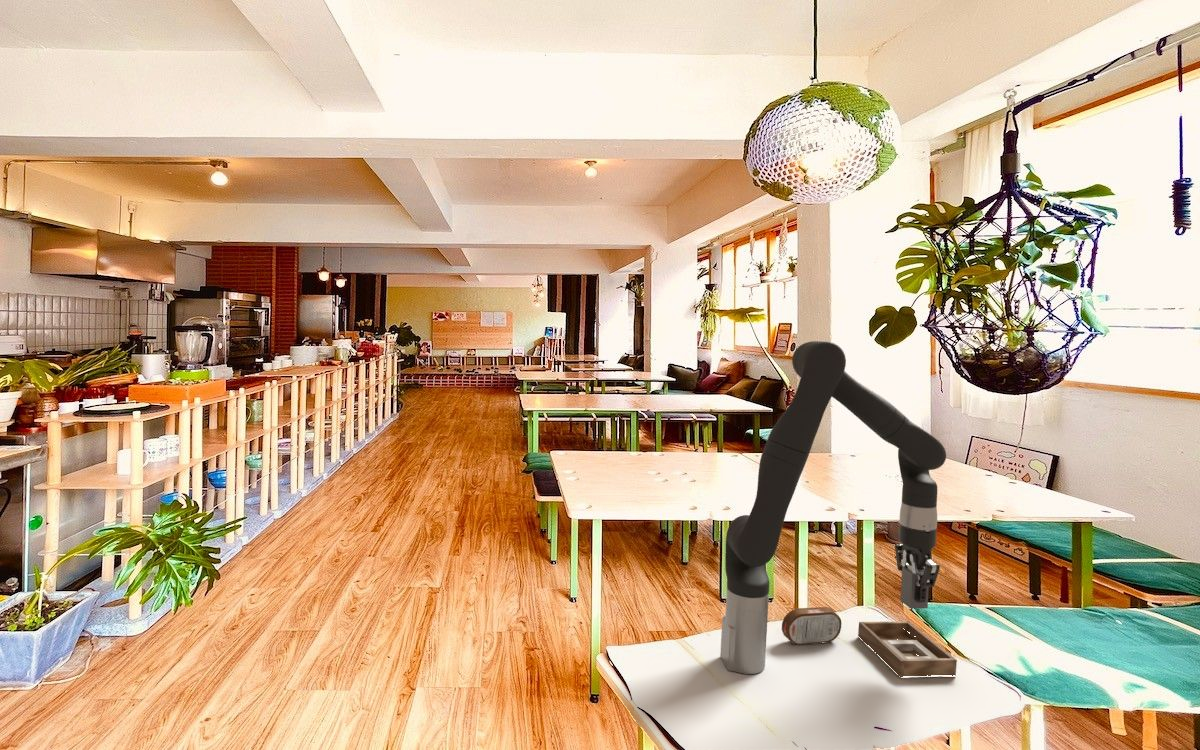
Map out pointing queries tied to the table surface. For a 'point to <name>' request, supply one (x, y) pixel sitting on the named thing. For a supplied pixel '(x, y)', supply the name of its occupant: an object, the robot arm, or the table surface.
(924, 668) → the box
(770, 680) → the table surface
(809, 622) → the tin
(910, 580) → the connector
